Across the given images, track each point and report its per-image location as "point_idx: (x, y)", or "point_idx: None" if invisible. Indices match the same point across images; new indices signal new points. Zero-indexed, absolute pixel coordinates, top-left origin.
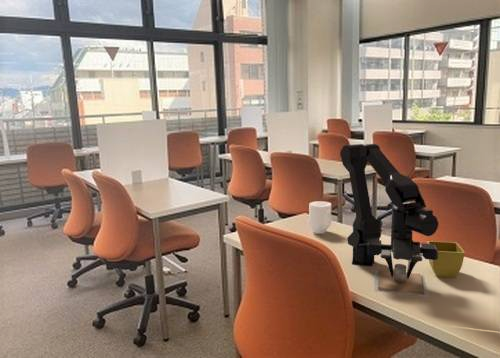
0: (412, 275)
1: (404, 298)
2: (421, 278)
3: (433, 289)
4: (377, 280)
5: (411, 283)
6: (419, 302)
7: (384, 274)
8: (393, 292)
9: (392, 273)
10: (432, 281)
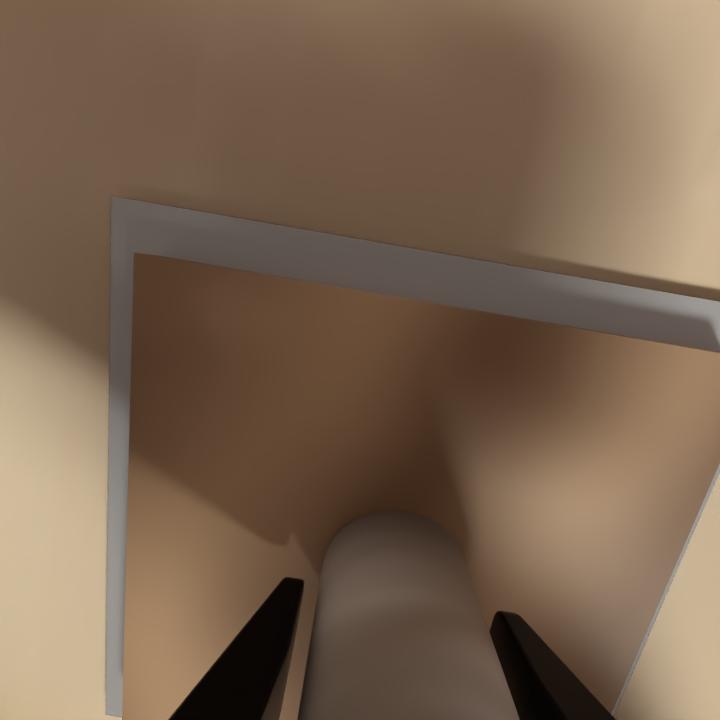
0: None
1: (431, 146)
2: None
3: (41, 427)
4: None
5: (264, 494)
6: (258, 32)
7: None
8: (544, 281)
9: (541, 668)
10: (35, 606)
